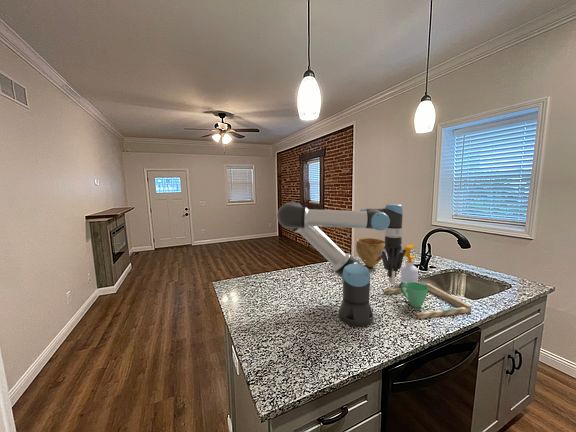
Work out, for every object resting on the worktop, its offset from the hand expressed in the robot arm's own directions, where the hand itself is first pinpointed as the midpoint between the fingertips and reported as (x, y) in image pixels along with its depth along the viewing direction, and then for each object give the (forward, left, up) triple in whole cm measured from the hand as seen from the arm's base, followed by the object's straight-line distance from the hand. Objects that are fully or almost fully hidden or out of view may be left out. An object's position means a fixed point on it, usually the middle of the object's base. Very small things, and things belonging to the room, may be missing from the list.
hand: (391, 282), depth 121 cm
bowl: (+19, +55, -12) cm, 59 cm away
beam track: (+19, 0, -12) cm, 22 cm away
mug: (+12, 0, -12) cm, 17 cm away
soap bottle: (+25, +20, -12) cm, 34 cm away
